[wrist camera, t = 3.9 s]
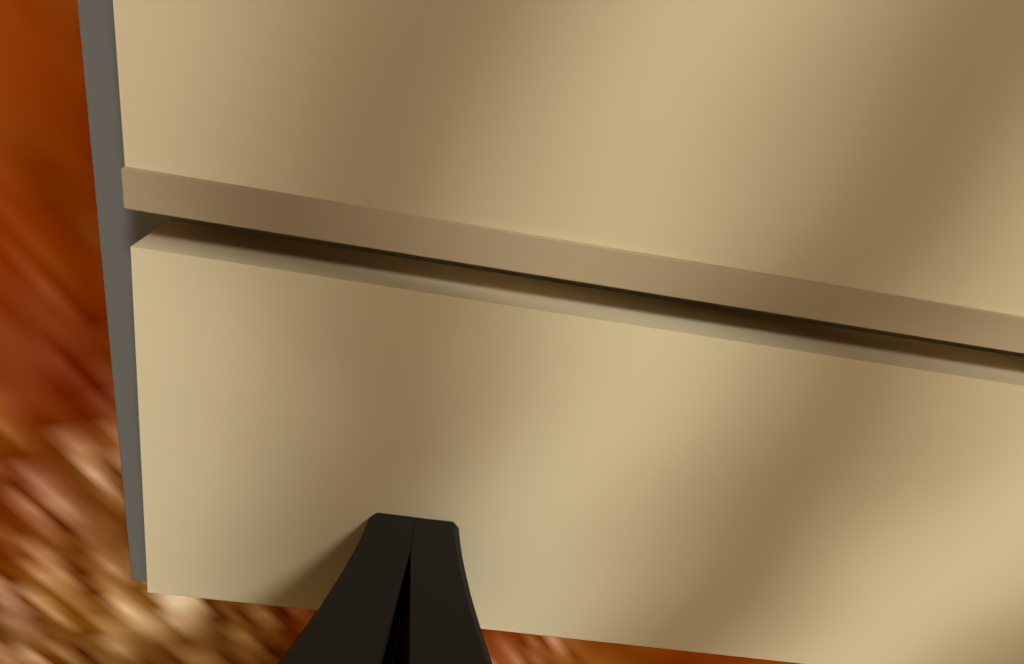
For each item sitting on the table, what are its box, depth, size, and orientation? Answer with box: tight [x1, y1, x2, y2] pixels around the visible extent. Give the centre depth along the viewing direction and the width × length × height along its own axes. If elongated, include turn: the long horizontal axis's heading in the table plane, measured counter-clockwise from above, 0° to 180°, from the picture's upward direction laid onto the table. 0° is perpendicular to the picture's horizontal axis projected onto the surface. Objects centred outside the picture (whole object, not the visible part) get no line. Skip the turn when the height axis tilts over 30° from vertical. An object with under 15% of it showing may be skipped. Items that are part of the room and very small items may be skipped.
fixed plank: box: [113, 0, 1024, 354], centre depth 9 cm, size 18×6×1 cm, turn 80°
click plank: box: [131, 220, 1024, 664], centre depth 12 cm, size 18×6×1 cm, turn 80°
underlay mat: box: [77, 0, 1024, 582], centre depth 11 cm, size 20×16×1 cm
